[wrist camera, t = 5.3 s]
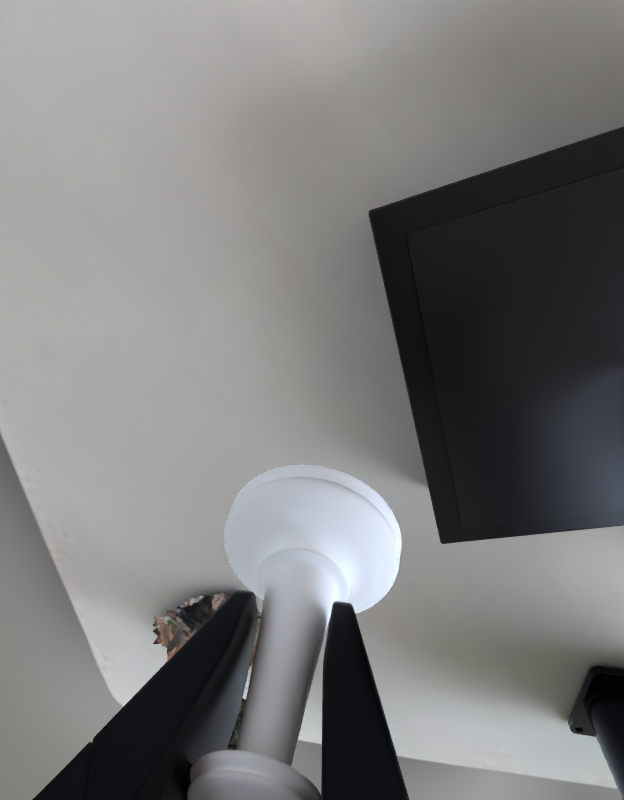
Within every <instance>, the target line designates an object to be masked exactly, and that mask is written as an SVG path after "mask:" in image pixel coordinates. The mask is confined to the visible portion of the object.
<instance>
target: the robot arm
mask: <svg viewBox="0 0 624 800" xmlns="http://www.w3.org/2000/svg"><path fill="white" fill-rule="evenodd" d="M257 629H258V610H257V603H256V596H255V594H254V592H252V591H244V590H237V591H235V592H234V593H233V594H232V595H231V596H230V597H229V598H228V599H227V600H226V601H225V602H224V603H223V604H222V605H221V606H220V607H219V608H218V609H217V610H216V611H215V612H214V613H213V615H212V616H211V617H210V618H209V619H208V620H207V621H206V622H205V623H204V624H203V625H202V626H201V627H200V628H199V629H198V630H197V631H196V632H195V633H194V634H193V635H192V636H191V637H190V638H189V639H188V640H187V641H186V643H185V644H184V645H183V646H182V647H181V648H180V649H179V650H178V651H177V652H176V653H175V654H174V655H173V656H172V657H171V658H170V659H169V660H168V661H167V662H166V663H165V664H164V665H163V666H162V667H161V668H160V670H159V671H158V672H157V673H156V674H155V675H154V676H153V677H152V678H151V679H150V680H149V681H148V682H147V683H146V684H145V685H144V686H143V687H142V688H141V689H140V690H139V691H138V692H137V693H136V694H135V695H134V697H133V698H132V699H131V700H130V701H129V702H128V703H127V704H126V705H125V706H124V707H123V708H122V709H121V710H120V711H119V712H118V713H117V714H116V715H115V716H114V717H113V718H112V719H111V720H110V721H109V722H108V724H107V725H106V726H105V727H104V728H103V729H102V730H101V731H100V732H99V733H98V734H97V735H96V736H95V737H94V739H93V742H89V743H88V744H87V745H86V746H85V747H84V748H83V749H82V750H81V751H80V752H79V753H78V754H77V756H76V757H75V758H74V759H73V760H72V761H71V762H70V763H69V764H68V765H67V766H66V767H65V768H64V769H63V770H62V771H61V772H60V773H59V774H58V775H57V776H56V777H55V778H54V779H53V780H52V781H51V782H50V783H49V784H48V785H47V786H46V787H45V788H44V789H43V790H42V791H41V792H40V793H39V794H38V795H37V796H36V797H35V798H34V799H33V800H188V798H187V791H188V788H189V786H190V784H191V781H190V770H191V767H192V765H193V764H194V763H195V761H196V760H198V759H199V758H200V757H202V756H204V755H206V754H208V753H211V752H215V751H222V750H227V747H228V744H229V741H230V738H231V735H232V731H233V728H234V725H235V722H236V719H237V716H238V712H239V709H240V705H241V701H242V697H243V692H244V688H245V683H246V679H247V674H248V670H249V665H250V661H251V656H252V652H253V647H254V642H255V638H256V633H257ZM568 724H569V727H570V730H571V731H572V732H573V733H576V734H582V735H588V736H595V737H597V740H598V742H599V744H600V747H601V749H602V752H603V754H604V756H605V759H606V761H607V763H608V766H609V768H610V770H611V773H612V775H613V778H614V780H615V782H616V785H617V787H618V789H619V791H620V794H621V796H622V799H623V800H624V670H621V669H614V668H606V667H593V668H591V669H590V670H589V672H588V675H587V677H586V680H585V682H584V684H583V687H582V689H581V692H580V694H579V696H578V699H577V701H576V704H575V706H574V708H573V711H572V713H571V716H570V718H569V721H568ZM321 788H322V790H321V800H409V797H408V794H407V790H406V787H405V783H404V780H403V776H402V773H401V769H400V766H399V762H398V759H397V756H396V752H395V749H394V745H393V742H392V738H391V735H390V731H389V728H388V725H387V721H386V718H385V714H384V711H383V707H382V704H381V701H380V697H379V694H378V690H377V687H376V683H375V680H374V676H373V673H372V670H371V666H370V663H369V659H368V656H367V652H366V649H365V645H364V642H363V639H362V635H361V632H360V628H359V625H358V621H357V618H356V614H355V611H354V608H353V605H352V604H351V603H348V602H340V601H335V602H334V603H333V605H332V610H331V616H330V622H329V629H328V635H327V641H326V647H325V653H324V661H323V703H322V787H321Z"/></svg>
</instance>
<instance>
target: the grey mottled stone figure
mask: <svg viewBox="0 0 624 800" xmlns="http://www.w3.org/2000/svg"><path fill="white" fill-rule="evenodd" d="M216 595H217V596H216ZM216 595H214V594H211V595H209V596H206V595H205V596H204V597H203V596H200V595H199V596H198V598H194V599H193V598H189V600H188V599H187V600H188V601H187V602H184V604H183V605H180V606H178V607H177V609H178V611H167V615H166V617H162V618H161V617H155V616H154V618H155V622H154V624H153V626H155V627H157V628H156V629H155V630H154V631H153V632H154V633H155V634H156V635H157V636H158V637H157V639H156V640H155V642H154V643H153V644H162V646H164V647H166V648H167V654H168V660H169V659H170V658H171V657H172V656H173V655H174V654H175V653H176V652H177V651H178V650H179V649H180V648H181V647H182V646H183V645H184V644H185V643H186V641H187V640H188V639H189V638H190V637H191V636H192V635H193V634H194V633H195V632H196V631H197V630H198V629H199V628H200V627H201V626H202V625H203V624H204V623H205V622H206V621H207V620H208V619H209V618H210V617H211V616H212V615H213V613H214V612H215V611H216V610H217V609H218V608H219V607H220V606H221V605H222V604H223V603H224V602H225V601H226V600H227V599H228V598H229V597H230V596H231V595H232V594H228V593H227V594H226V593H225V592H224V594H223V593H222V592H220V595H219V594H217V593H216ZM259 614H260V613H258V616H259ZM260 621H261V619H258V629H257V633H256V638H255V642H254V647H253V652H252V656H251V661H250V665H249V667H250V666H251V665H252V662H253V660H254V656H255V650H256V644H257V638H258V632H259V626H260ZM245 703H246V700H245V699H243V698H242V701H241V705H240V709H239V712H238V716H237V719H236V722H235V725H234V728H233V731H232V735H231V738H230V741H229V744H228V747H227V750H236V747H237V743H238V738H239V733H240V728H241V723H242V717H243V712H244V707H245Z"/></svg>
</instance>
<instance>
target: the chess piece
mask: <svg viewBox="0 0 624 800" xmlns="http://www.w3.org/2000/svg"><path fill="white" fill-rule="evenodd" d="M401 546H402V541H401V533H400V528H399V525H398V522H397V520H396V518H395V516H394V514H393V512H392V510H391V509H390V507H389V506H388V504H387V503H386V502H385V501H384V500H383V498H382V497H381V496H380V495H379V494H378V493H377V492H375V491H374V490H373V489H372V488H371V487H369V486H368V485H367V484H365V483H364V482H362V481H360V480H359V479H357V478H355V477H353V476H351V475H349V474H347V473H344V472H342V471H339V470H336V469H333V468H329V467H324V466H318V465H309V464H297V465H287V466H282V467H277V468H274V469H271V470H268V471H266V472H264V473H261V474H260V475H258V476H256V477H255V478H253V479H252V480H250V481H249V482H248V483H247V484H246V485H245V486H244V487H243V488H242V489H241V490H240V491H239V492H238V494H237V495H236V497H235V499H234V501H233V503H232V505H231V508H230V512H229V516H228V518H227V521H226V525H225V529H224V547H225V552H226V556H227V559H228V561H229V564H230V566H231V568H232V570H233V571H234V573H235V574H236V576H237V577H238V579H239V580H240V581H241V582H242V583H243V585H244V586H245V587H246V588H247V589H248V590H249V591H252V592H254V594H255V596H257V597H258V598H259V599H261V600H262V601H263V608H262V615H261V621H260V626H259V632H258V638H257V644H256V650H255V656H254V661H253V667H252V672H251V678H250V684H249V689H248V693H247V698H246V703H245V707H244V712H243V717H242V723H241V728H240V733H239V738H238V743H237V747H236V750H222V751H215V752H211V753H208V754H206V755H204V756H202V757H200V758H199V759H198V760H196V761H195V763H194V764H193V765H192V767H191V770H190V781H191V784H190V786H189V788H188V791H187V798H188V800H321V795H320V793H319V791H318V789H317V788H316V787H315V786H314V785H313V783H312V782H311V781H310V780H309V779H307V778H306V777H305V776H304V775H303V774H301V773H300V772H299V771H297V770H296V769H294V768H292V767H291V764H292V760H293V755H294V751H295V747H296V743H297V740H298V736H299V732H300V728H301V724H302V719H303V715H304V711H305V706H306V702H307V698H308V694H309V691H310V687H311V683H312V680H313V676H314V672H315V668H316V665H317V661H318V658H319V654H320V650H321V647H322V643H323V640H324V636H325V632H326V629H327V625H328V622H329V619H330V616H331V610H332V605H333V603H334V602H335V601H340V602H348V603H351V604H352V605H353V608H354V611H355V614H357V613H360V612H362V611H364V610H366V609H368V608H370V607H371V606H373V605H375V604H376V603H377V602H379V601H380V600H381V599H382V598H383V597H384V596H385V595H386V594H387V592H388V591H389V590H390V588H391V587H392V585H393V583H394V581H395V579H396V576H397V573H398V569H399V560H400V554H401Z"/></svg>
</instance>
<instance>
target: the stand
mask: <svg viewBox="0 0 624 800" xmlns="http://www.w3.org/2000/svg"><path fill="white" fill-rule="evenodd" d="M369 218H370V223H371V227H372V232H373V236H374V241H375V245H376V250H377V255H378V259H379V264H380V268H381V273H382V277H383V282H384V286H385V291H386V296H387V300H388V305H389V309H390V314H391V318H392V323H393V327H394V332H395V337H396V341H397V346H398V350H399V355H400V359H401V364H402V368H403V373H404V378H405V382H406V387H407V391H408V396H409V400H410V405H411V410H412V414H413V419H414V423H415V428H416V432H417V437H418V441H419V446H420V451H421V455H422V460H423V464H424V469H425V473H426V478H427V482H428V487H429V492H430V496H431V501H432V505H433V510H434V514H435V519H436V523H437V528H438V533H439V537H440V542H441V543H442V544H446V543H456V542H465V541H475V540H485V539H495V538H504V537H514V536H524V535H534V534H543V533H553V532H563V531H573V530H582V529H592V528H602V527H612V526H622V525H624V127H621V128H618V129H615V130H612V131H609V132H606V133H603V134H600V135H596V136H593V137H590V138H587V139H584V140H581V141H578V142H575V143H572V144H569V145H566V146H563V147H560V148H557V149H554V150H551V151H548V152H545V153H542V154H539V155H536V156H533V157H530V158H527V159H524V160H521V161H518V162H515V163H512V164H509V165H506V166H503V167H500V168H497V169H494V170H491V171H488V172H485V173H481V174H478V175H475V176H472V177H469V178H466V179H463V180H460V181H457V182H454V183H451V184H448V185H445V186H442V187H439V188H436V189H433V190H430V191H427V192H424V193H421V194H418V195H415V196H412V197H409V198H406V199H403V200H400V201H397V202H394V203H391V204H388V205H385V206H382V207H379V208H376V209H373V210H370V211H369Z"/></svg>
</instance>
